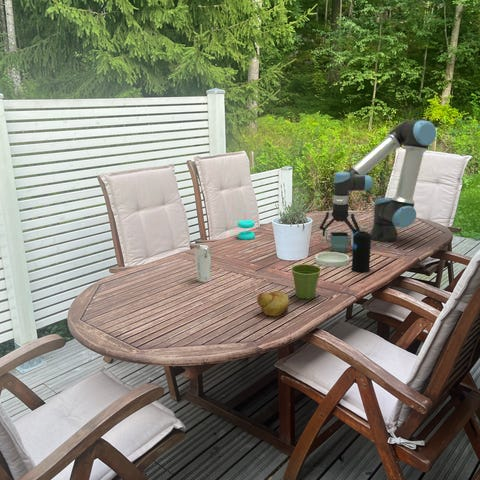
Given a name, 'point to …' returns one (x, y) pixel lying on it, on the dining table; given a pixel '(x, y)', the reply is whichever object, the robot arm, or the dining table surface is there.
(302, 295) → the plant pot
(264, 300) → the brown lumpy oval
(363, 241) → the aerosol can
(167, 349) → the dining table surface
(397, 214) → the robot arm
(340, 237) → the flower pot
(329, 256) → the saucer
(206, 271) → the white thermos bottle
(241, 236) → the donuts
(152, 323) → the dining table surface
